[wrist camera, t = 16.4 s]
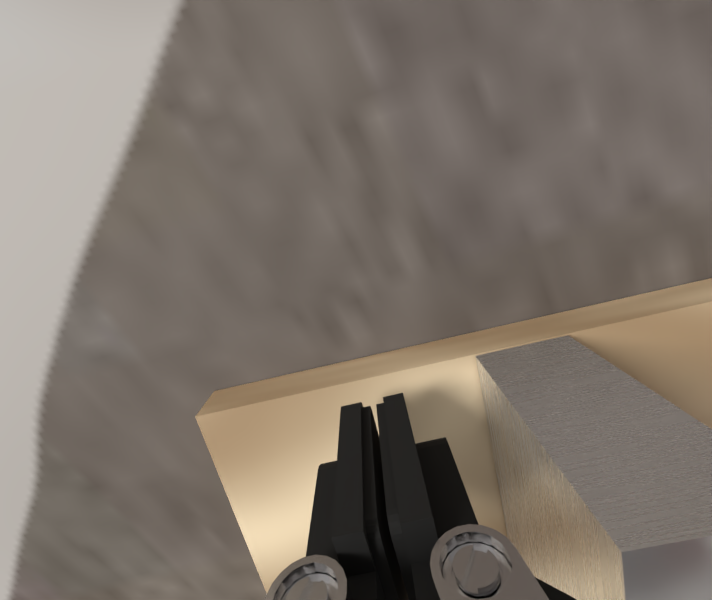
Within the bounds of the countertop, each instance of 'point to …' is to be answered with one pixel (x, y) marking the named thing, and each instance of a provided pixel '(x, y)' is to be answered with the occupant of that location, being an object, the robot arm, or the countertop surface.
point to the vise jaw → (598, 475)
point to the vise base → (432, 407)
